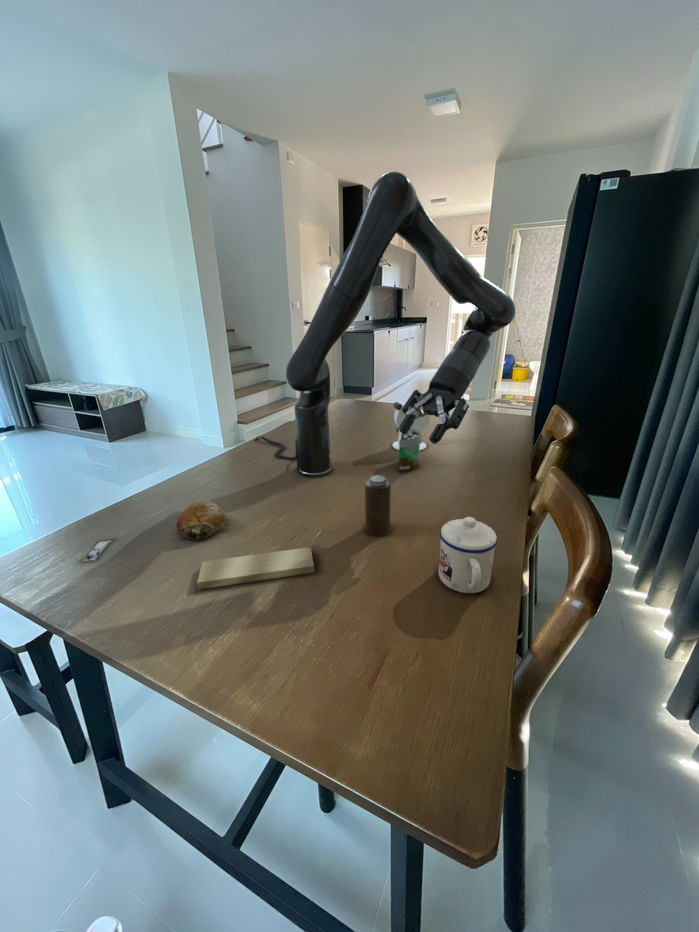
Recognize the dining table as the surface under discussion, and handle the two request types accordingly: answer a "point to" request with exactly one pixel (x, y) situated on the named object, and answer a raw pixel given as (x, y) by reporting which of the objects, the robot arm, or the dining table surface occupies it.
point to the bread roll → (200, 520)
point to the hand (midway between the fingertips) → (416, 436)
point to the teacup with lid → (466, 555)
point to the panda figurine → (417, 425)
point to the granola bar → (96, 550)
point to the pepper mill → (377, 505)
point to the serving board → (255, 568)
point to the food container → (409, 450)
